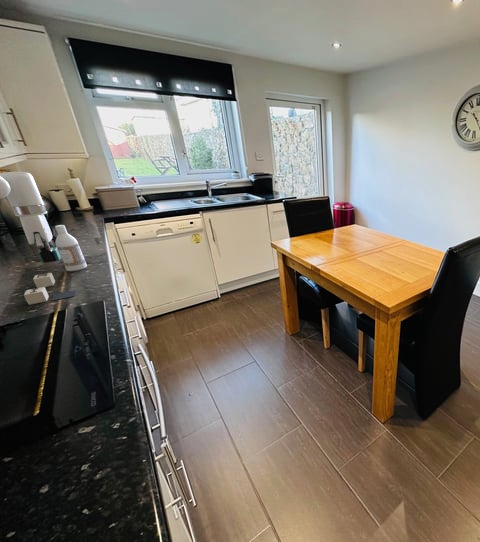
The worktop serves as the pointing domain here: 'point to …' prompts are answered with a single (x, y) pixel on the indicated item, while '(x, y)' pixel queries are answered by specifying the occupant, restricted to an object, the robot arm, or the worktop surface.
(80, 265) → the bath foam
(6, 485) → the worktop surface
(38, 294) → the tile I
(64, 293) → the slot pad
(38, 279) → the tile
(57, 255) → the tile
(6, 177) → the robot arm
